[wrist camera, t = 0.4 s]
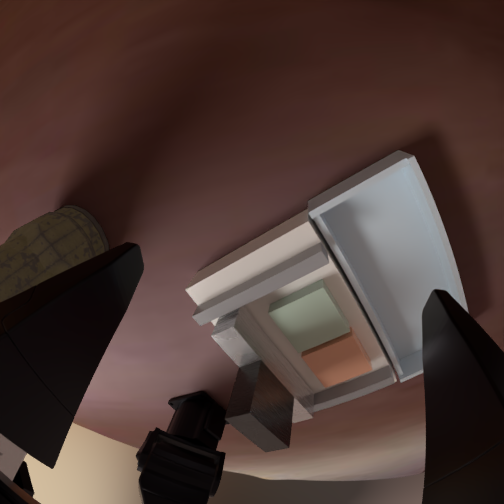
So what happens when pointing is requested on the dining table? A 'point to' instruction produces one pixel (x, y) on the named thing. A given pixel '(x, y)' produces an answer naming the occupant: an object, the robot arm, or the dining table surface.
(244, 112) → the dining table surface
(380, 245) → the tray
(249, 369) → the grey panel
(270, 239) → the white shallow box
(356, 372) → the terracotta tile
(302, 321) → the sage tile
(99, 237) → the thermos
